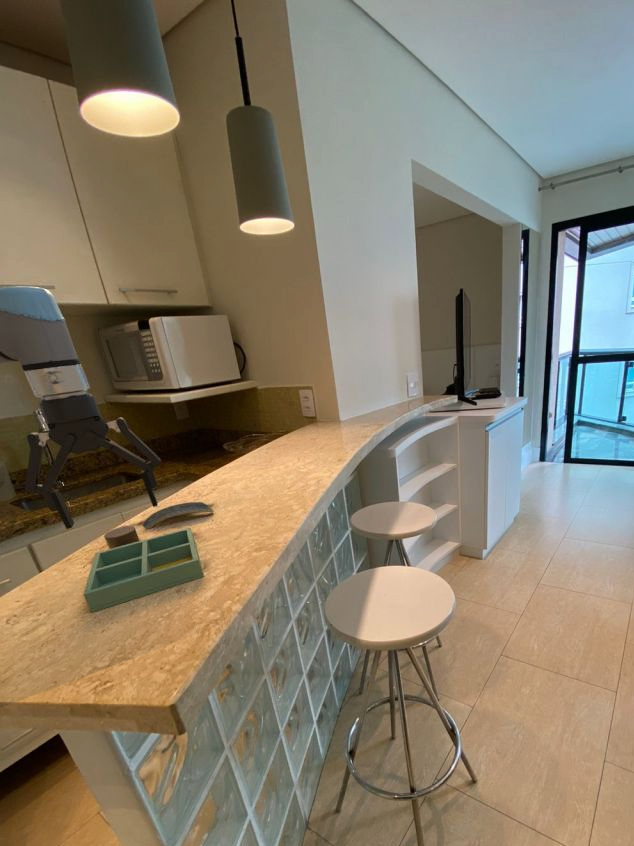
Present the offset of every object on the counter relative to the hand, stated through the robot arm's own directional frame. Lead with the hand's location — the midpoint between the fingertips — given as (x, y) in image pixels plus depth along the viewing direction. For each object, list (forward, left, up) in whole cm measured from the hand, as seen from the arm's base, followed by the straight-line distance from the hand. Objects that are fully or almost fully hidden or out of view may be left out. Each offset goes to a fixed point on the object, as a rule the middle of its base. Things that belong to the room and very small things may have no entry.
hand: (114, 515), depth 74 cm
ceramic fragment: (-9, +10, -8) cm, 15 cm away
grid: (+13, +4, -7) cm, 15 cm away
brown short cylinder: (0, 0, -7) cm, 7 cm away
